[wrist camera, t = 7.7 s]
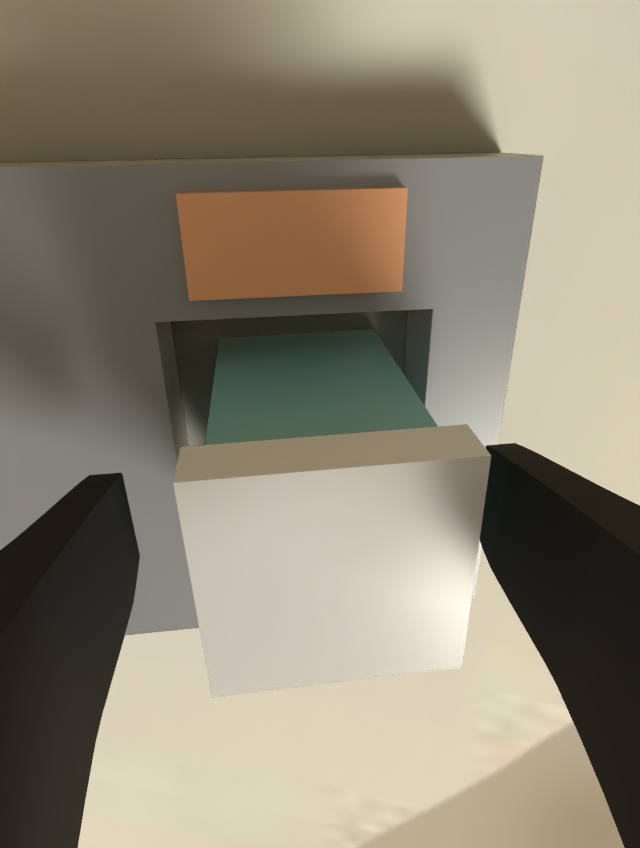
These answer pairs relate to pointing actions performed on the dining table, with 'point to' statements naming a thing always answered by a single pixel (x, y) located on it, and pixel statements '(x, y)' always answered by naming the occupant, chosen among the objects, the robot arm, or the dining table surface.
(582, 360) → the dining table surface
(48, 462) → the socket plate
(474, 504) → the plug
